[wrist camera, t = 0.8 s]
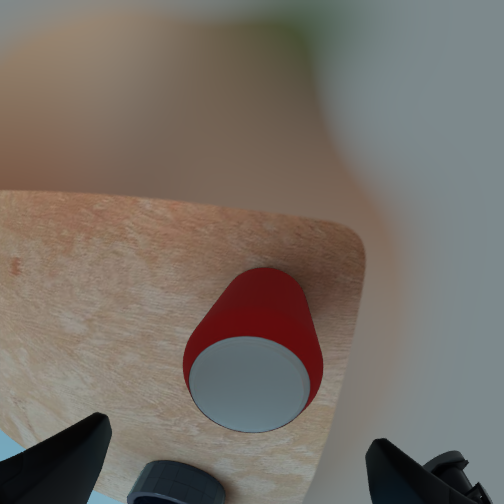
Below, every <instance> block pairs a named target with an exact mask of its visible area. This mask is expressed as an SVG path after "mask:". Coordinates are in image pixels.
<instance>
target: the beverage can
mask: <svg viewBox="0 0 504 504" xmlns="http://www.w3.org/2000/svg"><path fill="white" fill-rule="evenodd" d="M183 374H184V379H185V382H186V385H187V388H188V390H189V392H190V394H191V397H192V399H193V401H194V402H195V404H196V405H197V407H198V408H199V409H200V411H201V412H202V413H203V414H204V415H205V416H206V417H208V418H209V419H210V420H212V421H213V422H215V423H217V424H218V425H220V426H223V427H225V428H227V429H230V430H234V431H238V432H245V433H261V432H267V431H272V430H275V429H278V428H280V427H283V426H285V425H286V424H288V423H290V422H291V421H293V420H294V419H295V418H296V417H297V416H298V415H299V414H300V413H302V412H303V411H304V410H305V409H306V408H307V407H308V406H309V404H310V403H311V402H312V400H313V399H314V397H315V396H316V394H317V392H318V390H319V387H320V384H321V381H322V376H323V357H322V352H321V349H320V345H319V342H318V338H317V335H316V331H315V328H314V324H313V321H312V317H311V314H310V311H309V307H308V304H307V300H306V297H305V294H304V292H303V290H302V288H301V287H300V285H299V284H298V283H297V281H296V280H295V279H293V278H292V277H291V276H290V275H288V274H287V273H285V272H283V271H280V270H277V269H273V268H255V269H251V270H248V271H246V272H244V273H242V274H240V275H239V276H237V277H236V278H235V279H234V280H233V281H232V282H231V283H230V284H229V286H228V287H227V288H226V290H225V291H224V292H223V293H222V295H221V296H220V297H219V299H218V300H217V301H216V303H215V304H214V305H213V307H212V308H211V309H210V311H209V312H208V313H207V314H206V316H205V317H204V318H203V320H202V321H201V322H200V324H199V325H198V326H197V328H196V329H195V330H194V332H193V333H192V335H191V336H190V338H189V340H188V342H187V345H186V348H185V352H184V356H183Z"/></svg>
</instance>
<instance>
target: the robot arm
mask: <svg viewBox="0 0 504 504" xmlns="http://www.w3.org/2000/svg"><path fill="white" fill-rule="evenodd" d="M111 436H112V429H111V425H110V421H109V418H108V416H107V415H105V414H102V413H99V412H96V413H93V414H92V415H90V416H88V417H86V418H85V419H83V420H81V421H79V422H78V423H76V424H74V425H72V426H70V427H68V428H67V429H65V430H63V431H61V432H59V433H57V434H56V435H54V436H52V437H50V438H48V439H46V440H44V441H42V442H40V443H39V444H37V445H35V446H33V447H31V448H29V449H27V450H25V451H23V452H21V453H19V454H17V455H15V456H12V457H10V458H8V459H6V460H3V461H0V504H87V502H88V499H89V497H90V494H91V492H92V490H93V488H94V485H95V483H96V481H97V479H98V476H99V474H100V472H101V469H102V466H103V463H104V459H105V456H106V453H107V449H108V446H109V443H110V440H111ZM365 459H366V467H367V475H368V483H369V491H370V495H371V500H372V503H373V504H493V502H492V500H491V498H490V497H489V495H488V493H487V492H486V490H485V489H484V487H483V486H482V485H481V484H480V483H479V482H478V483H477V484H475V486H474V487H472V485H471V483H470V482H469V480H468V478H467V477H466V475H465V473H464V472H463V469H464V468H465V467H466V466H467V464H468V463H469V462H468V460H464V461H456V462H447V463H439V464H437V465H436V466H435V468H434V469H433V470H432V471H431V472H429V471H428V470H426V469H425V468H424V467H422V466H421V465H420V464H418V463H417V462H416V461H414V460H413V459H412V458H410V457H409V456H408V455H406V454H405V453H404V452H403V451H401V450H400V449H399V448H397V447H396V446H395V445H394V444H392V443H391V442H390V441H388V440H387V439H385V438H381V439H375V440H374V441H373V442H372V444H371V446H370V447H369V449H368V451H367V453H366V456H365ZM481 496H482V497H481ZM480 497H481V498H480Z"/></svg>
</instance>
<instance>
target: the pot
mask: <svg viewBox="0 0 504 504" xmlns="http://www.w3.org/2000/svg"><path fill="white" fill-rule="evenodd" d="M225 497H226V493H225V490H224V488H223V486H222V485H221V484H220V483H219V482H218V481H217V480H216V479H215V478H214V477H212V476H211V475H209V474H207V473H206V472H204V471H202V470H200V469H197V468H195V467H192V466H190V465H187V464H183V463H179V462H174V461H163V460H161V461H154V462H151V463H149V464H147V465H146V466H145V467H144V469H143V470H142V471H141V473H140V475H139V476H138V478H137V480H136V482H135V484H134V485H133V487H132V489H131V491H130V492H129V494H128V496H127V503H128V504H224V503H225Z"/></svg>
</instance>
